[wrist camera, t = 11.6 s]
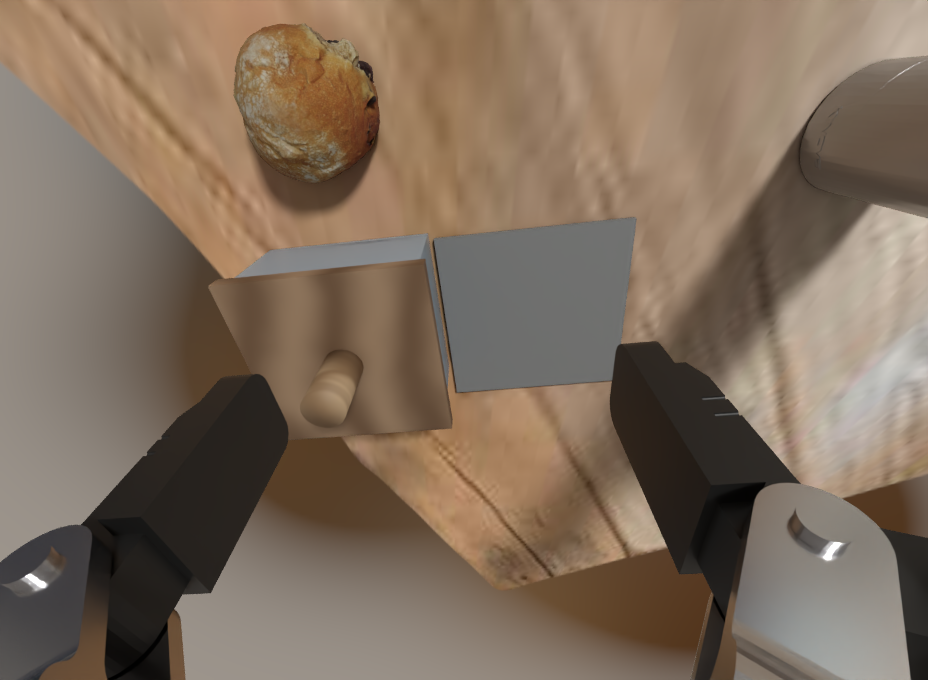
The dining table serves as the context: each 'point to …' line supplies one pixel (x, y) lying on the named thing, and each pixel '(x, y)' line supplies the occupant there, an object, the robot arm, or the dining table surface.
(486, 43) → the dining table surface
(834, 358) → the dining table surface
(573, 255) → the mat
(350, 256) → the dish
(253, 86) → the bread roll
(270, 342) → the lid
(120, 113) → the dining table surface
